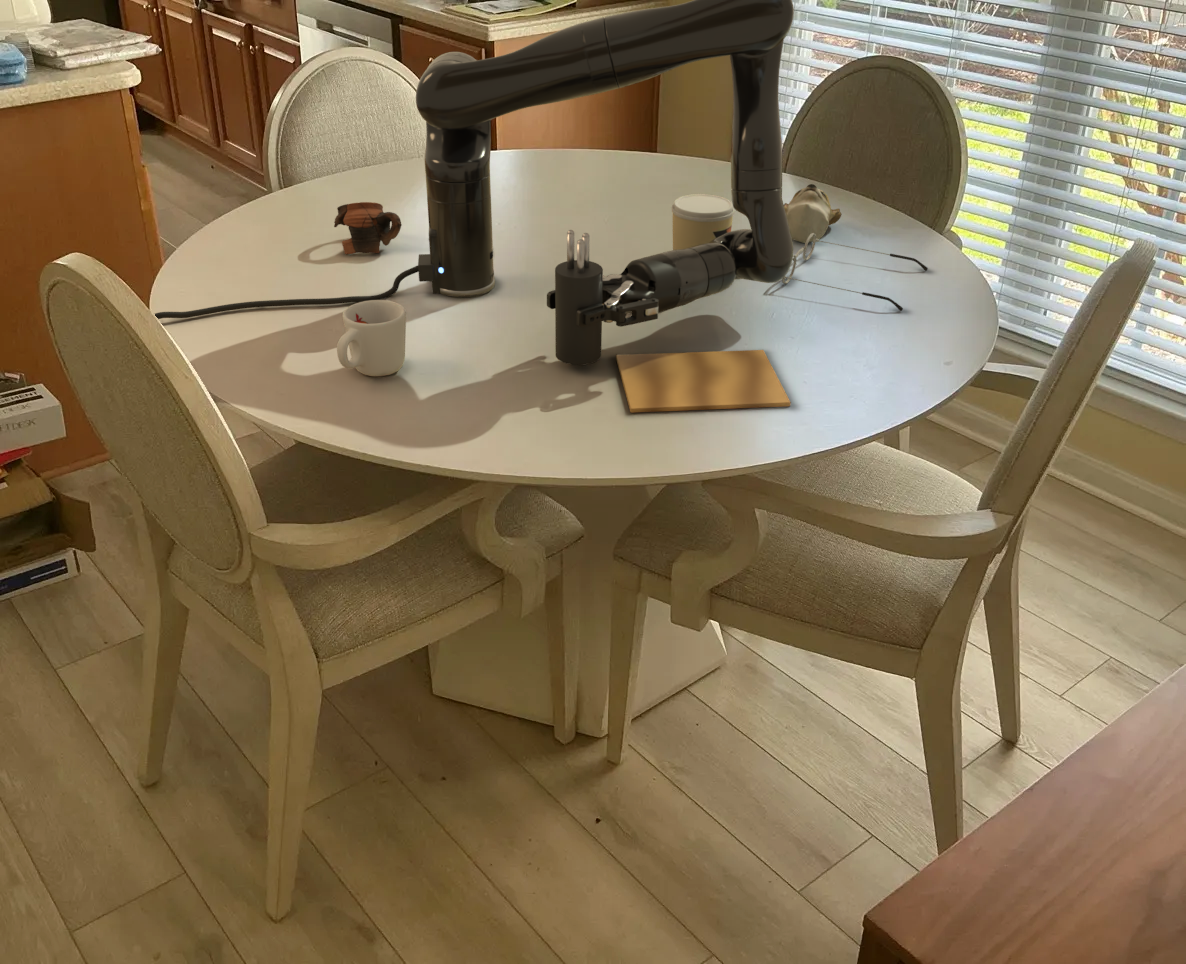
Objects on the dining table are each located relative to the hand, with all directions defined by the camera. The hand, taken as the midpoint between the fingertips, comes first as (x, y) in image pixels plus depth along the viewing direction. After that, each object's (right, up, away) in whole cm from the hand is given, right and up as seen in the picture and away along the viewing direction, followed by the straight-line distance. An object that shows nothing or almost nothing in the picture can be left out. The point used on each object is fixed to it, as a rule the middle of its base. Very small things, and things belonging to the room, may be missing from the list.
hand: (563, 309), depth 147 cm
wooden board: (+18, -9, +2) cm, 20 cm away
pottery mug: (-33, +16, +42) cm, 55 cm away
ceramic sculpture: (+40, +20, +49) cm, 67 cm away
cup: (-25, -8, +3) cm, 26 cm away
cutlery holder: (+2, -5, +5) cm, 7 cm away
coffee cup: (+20, +9, +31) cm, 38 cm away
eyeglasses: (+44, +9, +32) cm, 55 cm away
